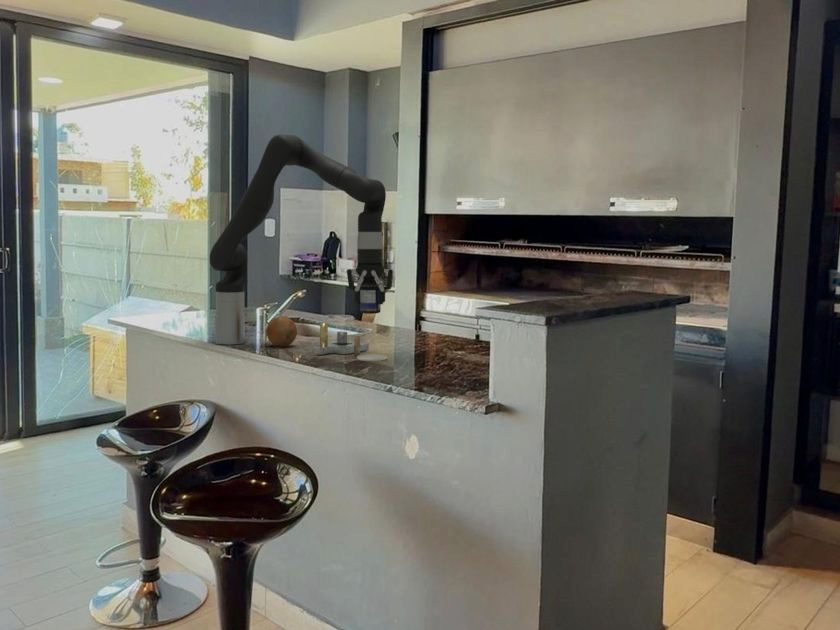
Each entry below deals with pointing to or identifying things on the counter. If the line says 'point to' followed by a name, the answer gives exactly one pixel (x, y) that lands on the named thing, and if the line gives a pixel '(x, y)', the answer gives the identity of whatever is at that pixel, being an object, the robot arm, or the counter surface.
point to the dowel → (356, 345)
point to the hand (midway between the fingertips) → (370, 303)
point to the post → (341, 338)
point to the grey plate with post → (334, 344)
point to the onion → (281, 331)
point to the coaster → (371, 357)
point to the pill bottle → (369, 296)
